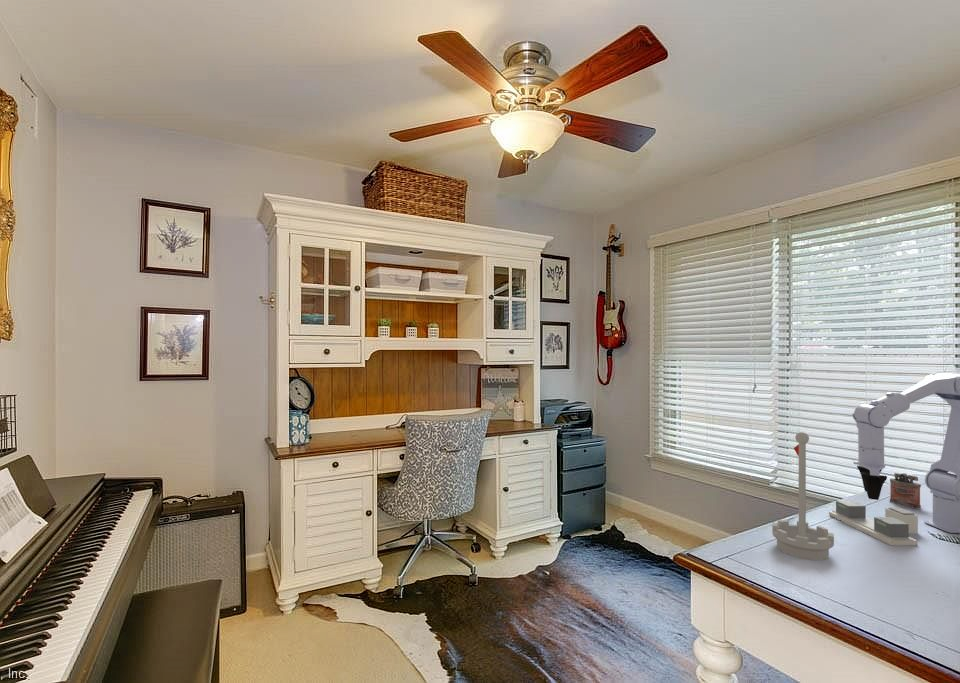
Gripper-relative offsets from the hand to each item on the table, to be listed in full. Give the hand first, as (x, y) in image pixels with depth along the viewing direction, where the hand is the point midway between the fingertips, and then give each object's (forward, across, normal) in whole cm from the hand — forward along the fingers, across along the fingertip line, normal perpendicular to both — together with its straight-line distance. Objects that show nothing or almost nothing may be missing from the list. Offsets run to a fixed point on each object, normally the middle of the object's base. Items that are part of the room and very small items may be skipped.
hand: (871, 495), depth 138 cm
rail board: (+9, +1, 0) cm, 9 cm away
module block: (+10, -4, +7) cm, 13 cm away
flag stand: (+9, +28, -17) cm, 34 cm away
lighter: (+10, -32, +12) cm, 36 cm away
